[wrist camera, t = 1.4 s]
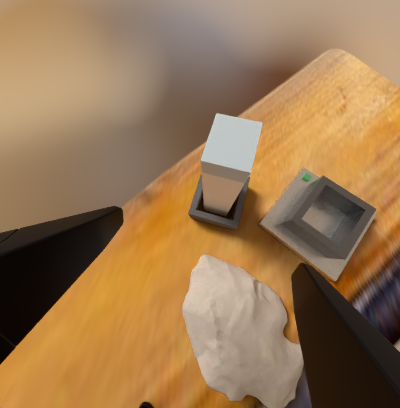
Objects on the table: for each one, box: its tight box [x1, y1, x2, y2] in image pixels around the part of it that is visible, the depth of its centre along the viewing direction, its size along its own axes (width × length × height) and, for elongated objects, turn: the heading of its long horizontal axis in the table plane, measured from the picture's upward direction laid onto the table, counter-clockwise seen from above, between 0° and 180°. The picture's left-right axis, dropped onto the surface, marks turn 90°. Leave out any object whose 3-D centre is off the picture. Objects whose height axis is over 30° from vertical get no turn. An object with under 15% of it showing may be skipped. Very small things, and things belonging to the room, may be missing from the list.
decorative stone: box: [182, 254, 304, 408], centre depth 16 cm, size 11×4×15 cm
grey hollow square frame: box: [188, 173, 250, 230], centre depth 20 cm, size 7×6×2 cm
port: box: [258, 168, 376, 281], centre depth 19 cm, size 10×10×4 cm
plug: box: [201, 114, 263, 216], centre depth 16 cm, size 4×3×12 cm
